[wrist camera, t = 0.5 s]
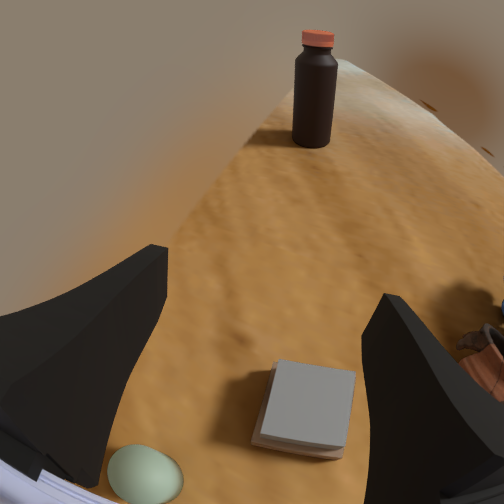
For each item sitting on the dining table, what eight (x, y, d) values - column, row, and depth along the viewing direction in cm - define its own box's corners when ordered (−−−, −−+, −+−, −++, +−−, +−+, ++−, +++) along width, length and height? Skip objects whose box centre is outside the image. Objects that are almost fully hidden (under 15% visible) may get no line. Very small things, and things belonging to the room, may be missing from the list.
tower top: (338, 450, 20) (345, 446, 18) (260, 437, 21) (260, 433, 19) (349, 380, 24) (355, 371, 22) (277, 368, 25) (278, 358, 23)
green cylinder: (173, 512, 18) (158, 516, 15) (120, 489, 19) (98, 487, 16) (191, 463, 21) (179, 459, 18) (138, 443, 22) (120, 434, 19)
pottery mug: (405, 365, 26) (465, 304, 22) (454, 377, 29) (505, 328, 25) (440, 476, 16) (526, 418, 12) (488, 464, 19) (553, 416, 15)
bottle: (337, 144, 53) (349, 36, 38) (306, 152, 51) (314, 35, 36) (314, 129, 57) (321, 29, 42) (284, 135, 55) (287, 29, 40)
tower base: (334, 460, 21) (342, 458, 19) (251, 445, 22) (250, 441, 21) (348, 386, 26) (355, 376, 24) (272, 372, 27) (273, 361, 25)
